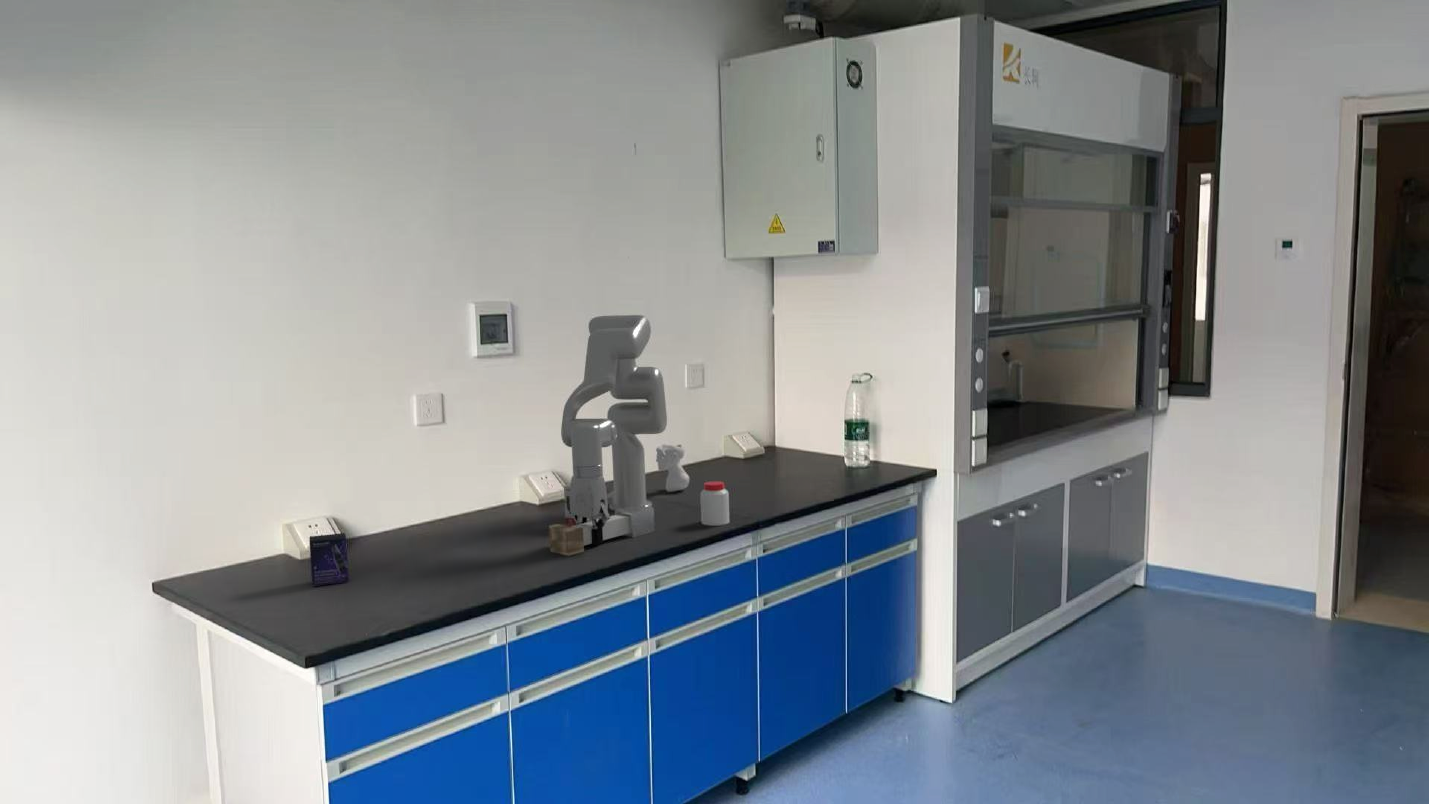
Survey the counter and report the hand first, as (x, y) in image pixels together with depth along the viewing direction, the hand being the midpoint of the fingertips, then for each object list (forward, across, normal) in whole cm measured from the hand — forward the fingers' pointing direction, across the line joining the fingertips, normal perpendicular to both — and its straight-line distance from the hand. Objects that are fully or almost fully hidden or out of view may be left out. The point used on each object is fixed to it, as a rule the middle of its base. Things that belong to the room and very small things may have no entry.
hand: (591, 541), depth 258 cm
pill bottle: (+1, +10, +36) cm, 38 cm away
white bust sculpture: (+1, -30, +60) cm, 68 cm away
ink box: (+1, -18, +12) cm, 22 cm away
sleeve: (+1, 0, +16) cm, 16 cm away
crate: (+1, 0, -8) cm, 8 cm away
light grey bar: (+1, 0, +2) cm, 3 cm away
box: (+1, -25, -58) cm, 63 cm away
